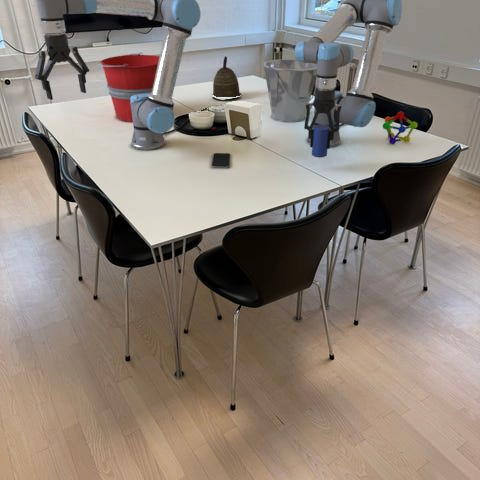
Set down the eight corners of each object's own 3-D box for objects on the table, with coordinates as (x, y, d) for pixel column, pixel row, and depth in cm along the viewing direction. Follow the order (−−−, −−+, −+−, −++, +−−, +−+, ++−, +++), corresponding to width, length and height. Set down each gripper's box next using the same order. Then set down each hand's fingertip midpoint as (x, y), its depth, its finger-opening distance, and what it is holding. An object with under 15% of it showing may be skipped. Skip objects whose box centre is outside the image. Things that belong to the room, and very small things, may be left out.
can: (323, 158, 177) (325, 130, 170) (309, 155, 179) (311, 127, 173) (329, 153, 181) (332, 126, 175) (315, 150, 184) (317, 123, 177)
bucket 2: (289, 128, 228) (292, 72, 213) (250, 116, 247) (251, 63, 232) (326, 117, 245) (332, 64, 230) (287, 106, 263) (290, 56, 249)
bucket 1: (116, 106, 262) (108, 51, 246) (175, 107, 261) (171, 52, 245) (98, 124, 233) (88, 63, 217) (164, 125, 232) (159, 64, 216)
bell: (227, 105, 294) (202, 96, 282) (238, 66, 289) (213, 55, 277) (243, 108, 280) (217, 98, 268) (255, 66, 275) (229, 55, 263)
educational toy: (377, 146, 209) (379, 114, 202) (384, 138, 219) (386, 107, 211) (411, 149, 202) (415, 116, 195) (417, 141, 212) (420, 109, 204)
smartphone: (211, 166, 183) (213, 153, 196) (211, 167, 184) (213, 154, 196) (229, 166, 183) (230, 153, 196) (229, 168, 184) (230, 154, 196)
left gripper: (25, 38, 145) (40, 103, 156) (92, 31, 161) (101, 91, 172) (15, 36, 149) (30, 100, 161) (81, 29, 165) (91, 88, 176)
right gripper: (298, 89, 165) (295, 148, 177) (351, 92, 161) (343, 152, 173) (301, 84, 171) (297, 141, 183) (351, 87, 167) (344, 145, 179)
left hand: (67, 95), depth 166 cm, fingers open, 13 cm apart
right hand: (319, 146), depth 178 cm, fingers closed on can, 6 cm apart
